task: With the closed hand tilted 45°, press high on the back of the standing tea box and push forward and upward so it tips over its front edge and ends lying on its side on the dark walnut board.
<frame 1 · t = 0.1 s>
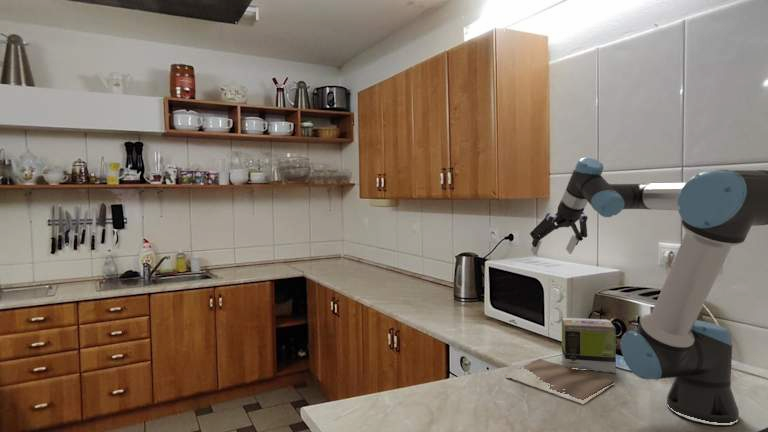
hand: (551, 252, 160), 36 cm above the countertop, tool tilted 35°, fingers open, 13 cm apart
tea box: (587, 366, 149), on the countertop
walnut board: (559, 381, 138), on the countertop
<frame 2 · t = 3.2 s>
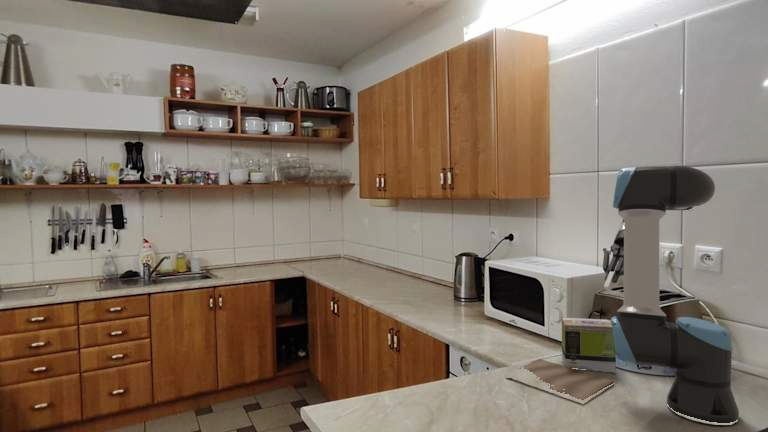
hand: (607, 288, 158), 23 cm above the countertop, tool tilted 45°, fingers closed
nothing on the countertop moved.
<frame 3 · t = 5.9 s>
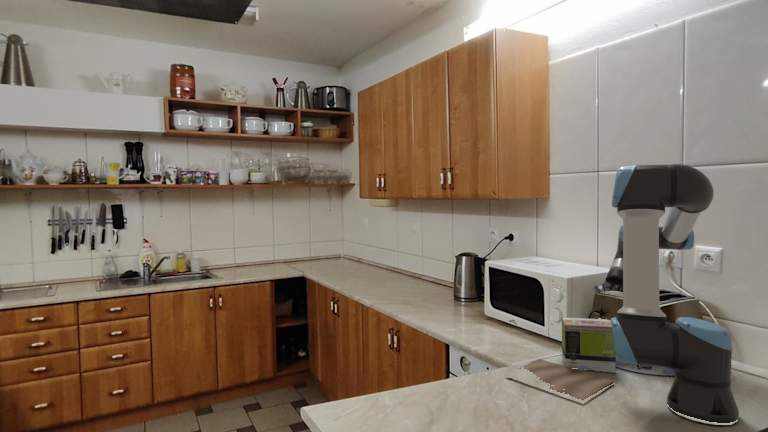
hand: (598, 329, 154), 10 cm above the countertop, tool tilted 45°, fingers closed
tea box: (587, 366, 149), on the countertop, touching gripper
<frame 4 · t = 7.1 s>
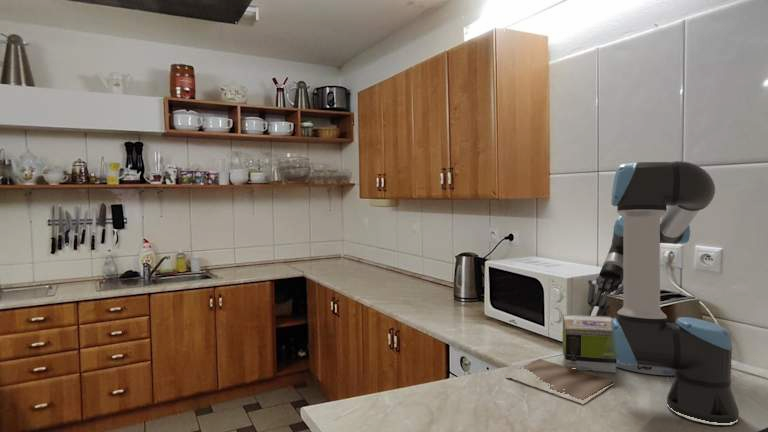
hand: (591, 324, 152), 13 cm above the countertop, tool tilted 45°, fingers closed
tea box: (587, 363, 149), point 1 cm above the countertop, touching gripper
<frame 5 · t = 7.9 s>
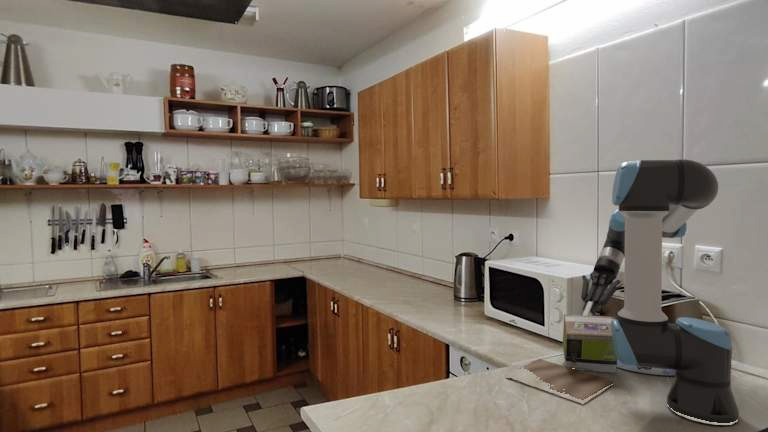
hand: (585, 320, 149), 15 cm above the countertop, tool tilted 45°, fingers closed
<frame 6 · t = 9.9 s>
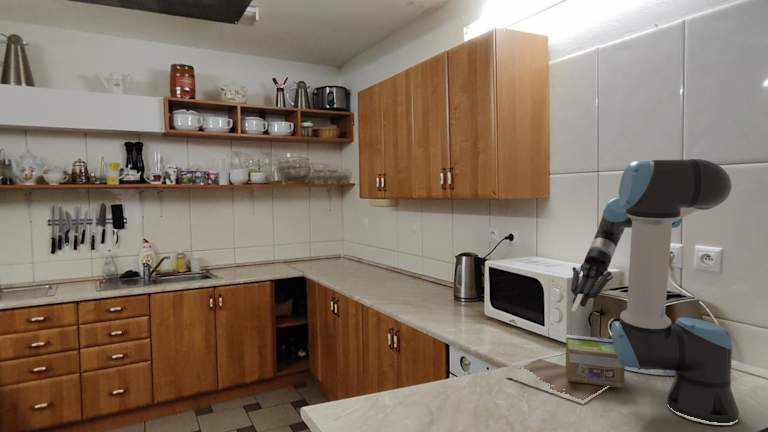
hand: (574, 313, 143), 19 cm above the countertop, tool tilted 45°, fingers closed
tea box: (590, 351, 145), point 6 cm above the countertop, touching walnut board
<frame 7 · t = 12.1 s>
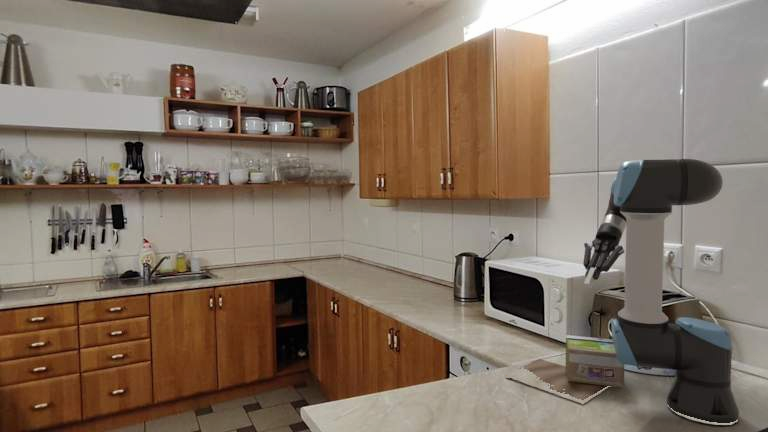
hand: (587, 286, 148), 26 cm above the countertop, tool tilted 45°, fingers closed
nothing on the countertop moved.
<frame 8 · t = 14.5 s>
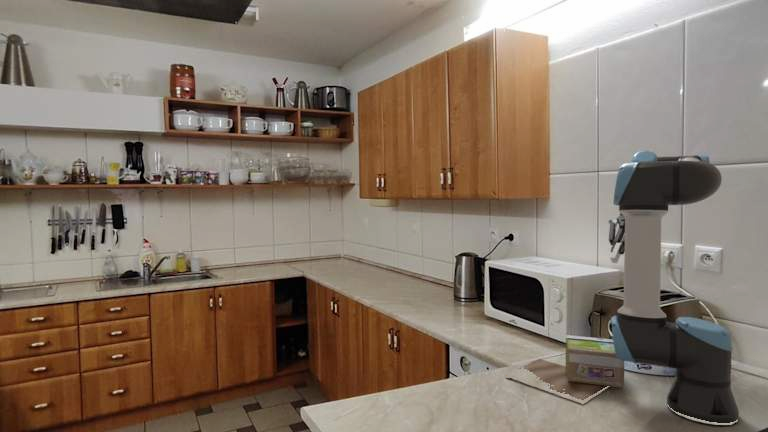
hand: (613, 260, 150), 34 cm above the countertop, tool tilted 45°, fingers closed
nothing on the countertop moved.
at the end: tea box tilted 90°; tea box touching walnut board; the gripper is holding nothing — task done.
